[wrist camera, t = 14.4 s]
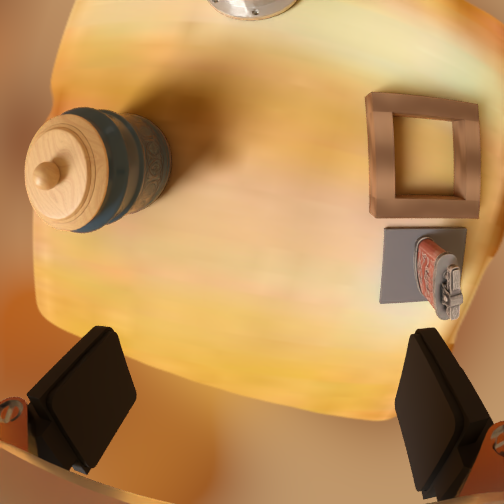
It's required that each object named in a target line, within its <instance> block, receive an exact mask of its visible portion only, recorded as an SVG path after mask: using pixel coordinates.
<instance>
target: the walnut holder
mask: <svg viewBox="0 0 504 504" xmlns="http://www.w3.org/2000/svg"><path fill="white" fill-rule="evenodd" d="M365 104H366V117H367V132H368V152H369V196H370V205H369V212H370V213H371V214H372V215H373V216H374V217H375V218H470V219H479V207H480V186H481V147H480V126H479V112H478V104H473V103H468V102H462V101H455V100H449V99H442V98H434V97H426V96H417V95H407V94H395V93H380V92H371V93H370V94H368V95H367V96H366V97H365ZM393 116H400V117H413V118H425V119H435V120H444V121H452V125H453V145H454V196H443V195H395V153H394V131H393Z"/></svg>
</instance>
